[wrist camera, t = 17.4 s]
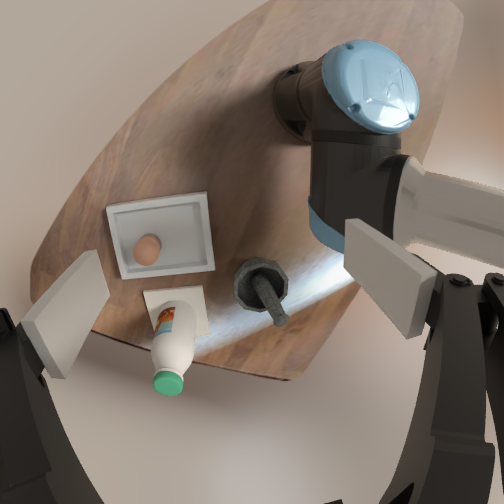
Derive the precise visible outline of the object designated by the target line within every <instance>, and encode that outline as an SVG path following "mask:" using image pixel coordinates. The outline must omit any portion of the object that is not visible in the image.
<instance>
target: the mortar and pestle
mask: <svg viewBox="0 0 504 504" xmlns="http://www.w3.org/2000/svg"><path fill="white" fill-rule="evenodd" d="M233 281H234V298H235V299H236V300H237V301H238V302H239V304H240V305H241V306H242V307H243V308H244V309H247V310H251V311H256V312H263V311H266V310H268V312H269V314H270V315H271V317H272V318H273V320H274V321H273V323H274V325H275V326H277V327H279V326H283V325H285V324H286V323H287V322H288V321H289V316H288V315H287V314H285V312H284V310H283V308H282V306H281V303H280V302H281V301H282V300H283V299H284V298H285V297H286V296H287V290H288V278H287V276H286V275H285V273H284V272H283V271H282V269H281V268H280V267H279V265H278V264H277V263H276V262H275V261H271V260H268V259H264V258H261V257H254V258H250V259H247V260H246V261H245V262H244V263H243V264H242V266H241V267H240V268H239V269H238V271H237V272H236V273H235V275H234V278H233Z"/></svg>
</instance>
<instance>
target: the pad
mask: <svg viewBox="0 0 504 504" xmlns="http://www.w3.org/2000/svg"><path fill="white" fill-rule="evenodd" d="M143 294H144V297H145V301H146V305H147V308H148V312H149V315H150V319H151V322H152V326H153V329H154V331H155V327H156V323H157V319H158V316H159V312H160V309H161V308H162V306H163V305H164V304H166V303H168V302H170V301H174V300H178V301H183V302H186V303H187V304H189V305H190V306H191V307H192V308H193V309H194V311H195V313H196V335H195V337H197V336H209V335H211V333H210V328H209V322H208V316H207V311H206V305H205V299H204V293H203V287H202V285H195V286H185V287H175V288H164V289H153V290H144V291H143Z"/></svg>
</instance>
